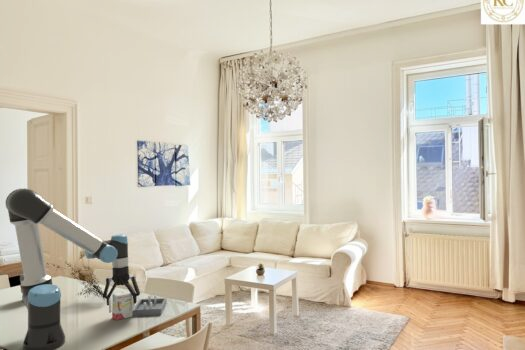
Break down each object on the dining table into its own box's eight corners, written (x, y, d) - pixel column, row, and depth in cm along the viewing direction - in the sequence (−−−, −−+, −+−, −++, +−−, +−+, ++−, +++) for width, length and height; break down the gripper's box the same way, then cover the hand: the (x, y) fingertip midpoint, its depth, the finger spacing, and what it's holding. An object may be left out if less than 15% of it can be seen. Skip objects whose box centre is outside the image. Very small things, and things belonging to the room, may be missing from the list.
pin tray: (161, 314, 194) (161, 303, 194) (132, 316, 192) (132, 304, 192) (166, 303, 211) (166, 293, 212) (140, 304, 210) (140, 294, 210)
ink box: (115, 320, 186) (115, 296, 186) (112, 317, 190) (111, 293, 190) (132, 316, 191) (132, 292, 192) (129, 314, 195) (129, 290, 196)
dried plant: (131, 270, 215) (92, 231, 240) (76, 287, 191) (38, 242, 215) (123, 314, 224) (85, 272, 249) (69, 335, 200) (33, 287, 225)
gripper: (145, 263, 196) (147, 306, 196) (99, 265, 194) (100, 310, 194) (142, 266, 188) (144, 311, 188) (94, 269, 186) (95, 315, 186)
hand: (122, 310), depth 191 cm, fingers open, 10 cm apart
